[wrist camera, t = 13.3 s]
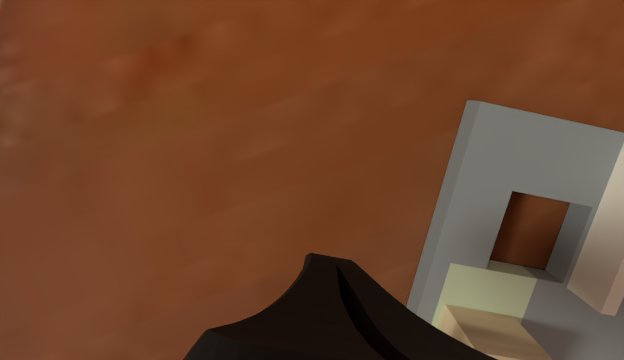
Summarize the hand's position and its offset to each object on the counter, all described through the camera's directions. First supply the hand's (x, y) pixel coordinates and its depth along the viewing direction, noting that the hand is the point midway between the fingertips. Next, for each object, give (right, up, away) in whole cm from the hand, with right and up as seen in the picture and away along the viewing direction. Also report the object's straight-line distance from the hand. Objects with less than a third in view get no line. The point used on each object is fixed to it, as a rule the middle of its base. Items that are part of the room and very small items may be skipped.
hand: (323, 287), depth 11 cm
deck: (+15, -2, +12) cm, 19 cm away
